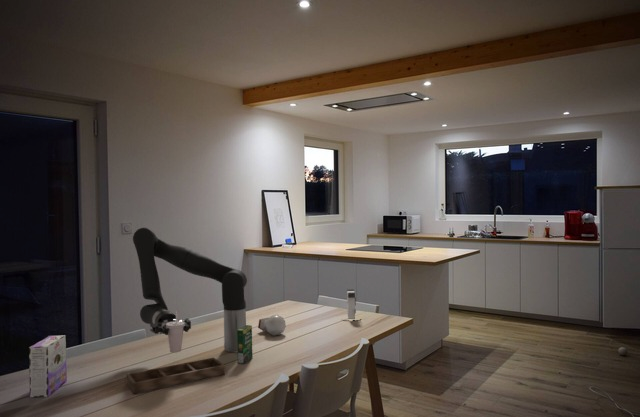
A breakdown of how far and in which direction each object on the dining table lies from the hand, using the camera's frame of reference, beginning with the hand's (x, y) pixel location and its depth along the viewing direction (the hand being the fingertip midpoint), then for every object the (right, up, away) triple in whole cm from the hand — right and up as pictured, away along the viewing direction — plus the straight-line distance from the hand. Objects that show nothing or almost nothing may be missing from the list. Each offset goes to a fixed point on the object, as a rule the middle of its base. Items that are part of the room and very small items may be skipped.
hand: (177, 330), depth 163 cm
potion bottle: (+26, -18, +61) cm, 69 cm away
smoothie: (-1, -8, +2) cm, 8 cm away
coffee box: (+20, -18, +21) cm, 34 cm away
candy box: (-41, -19, -5) cm, 46 cm away
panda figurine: (+66, -17, +89) cm, 112 cm away
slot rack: (-1, -18, +2) cm, 18 cm away
